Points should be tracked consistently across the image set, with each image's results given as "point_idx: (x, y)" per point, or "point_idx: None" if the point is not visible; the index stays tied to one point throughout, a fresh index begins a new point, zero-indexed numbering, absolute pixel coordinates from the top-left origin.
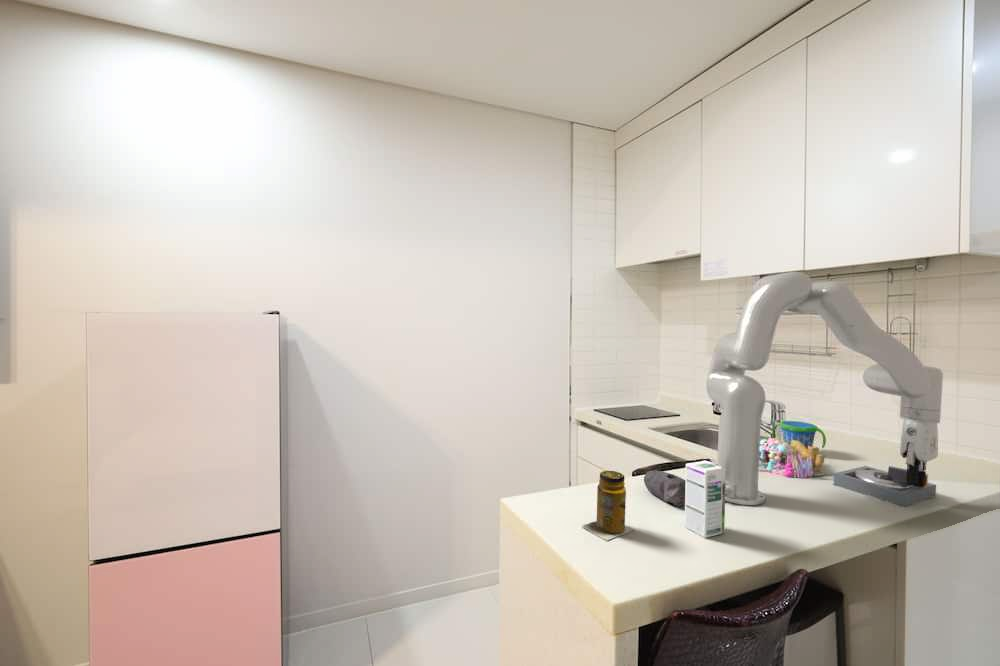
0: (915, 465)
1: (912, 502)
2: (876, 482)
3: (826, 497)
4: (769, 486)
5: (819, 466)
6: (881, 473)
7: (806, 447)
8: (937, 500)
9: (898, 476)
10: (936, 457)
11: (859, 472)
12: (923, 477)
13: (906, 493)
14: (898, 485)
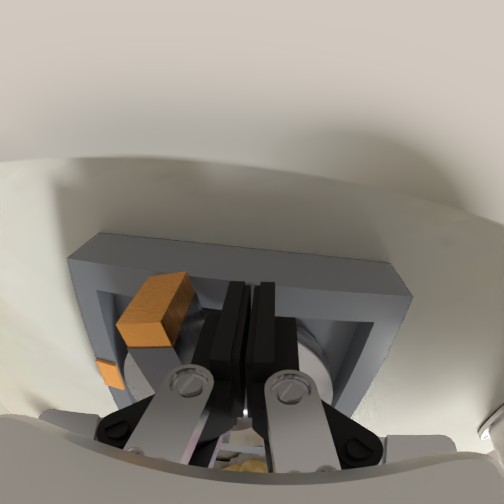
0: (380, 440)
1: (321, 259)
2: (332, 397)
3: (452, 385)
4: (443, 434)
5: (263, 471)
6: None
7: None
8: (138, 211)
9: None
10: (25, 422)
11: (248, 441)
12: (269, 326)
13: (394, 297)
14: (304, 353)
